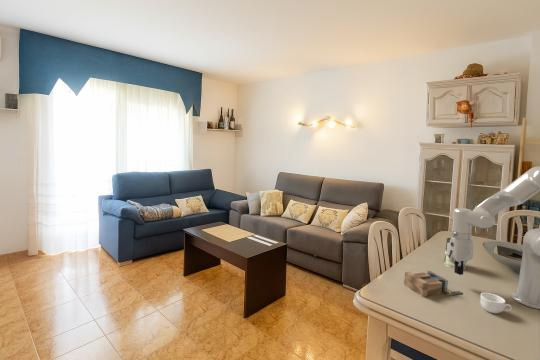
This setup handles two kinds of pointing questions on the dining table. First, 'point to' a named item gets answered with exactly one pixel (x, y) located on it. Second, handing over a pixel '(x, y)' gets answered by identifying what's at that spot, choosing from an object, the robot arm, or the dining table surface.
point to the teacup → (493, 303)
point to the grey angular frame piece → (439, 278)
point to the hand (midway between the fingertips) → (458, 273)
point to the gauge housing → (425, 284)
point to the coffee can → (446, 260)
